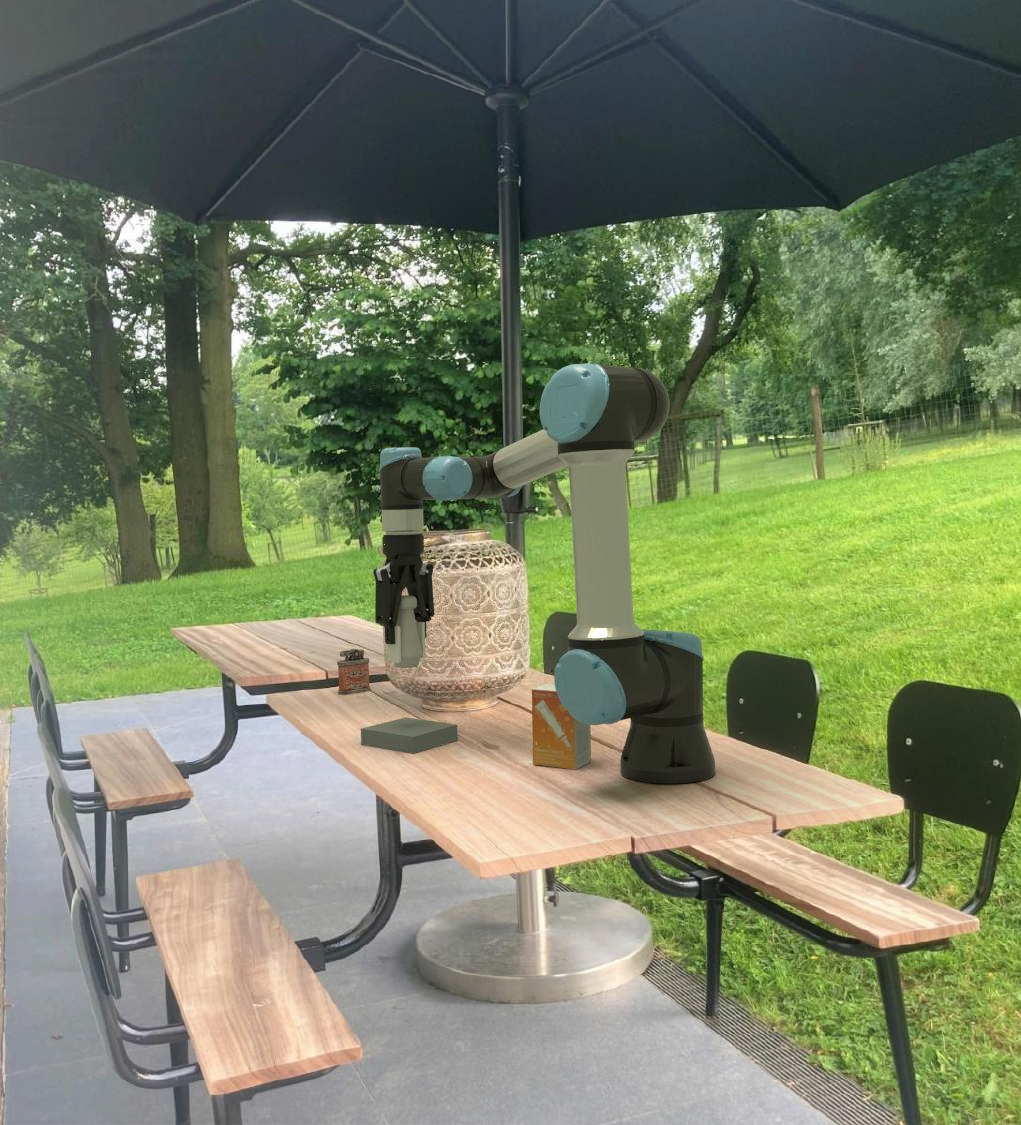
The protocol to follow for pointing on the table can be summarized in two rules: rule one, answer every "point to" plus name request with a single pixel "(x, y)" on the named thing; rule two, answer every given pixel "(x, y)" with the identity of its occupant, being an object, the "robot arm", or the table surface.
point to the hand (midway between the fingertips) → (406, 659)
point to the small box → (557, 732)
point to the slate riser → (409, 735)
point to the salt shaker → (408, 633)
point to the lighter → (353, 672)
